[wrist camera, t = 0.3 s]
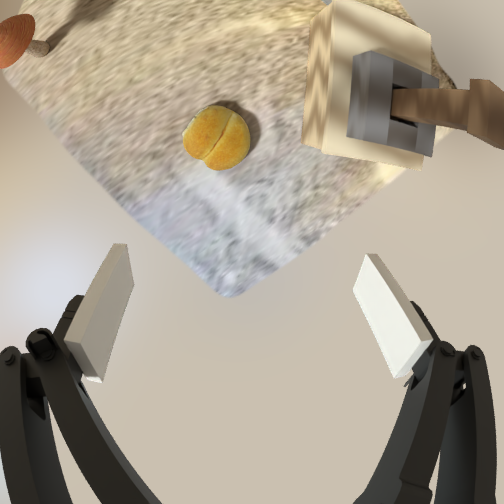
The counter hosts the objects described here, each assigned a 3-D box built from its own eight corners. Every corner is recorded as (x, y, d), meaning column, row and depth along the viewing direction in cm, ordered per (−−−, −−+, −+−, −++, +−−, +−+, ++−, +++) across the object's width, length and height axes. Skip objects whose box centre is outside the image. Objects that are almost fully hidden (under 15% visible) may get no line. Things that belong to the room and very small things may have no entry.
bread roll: (227, 178, 39) (228, 184, 35) (175, 144, 36) (171, 146, 32) (262, 132, 37) (267, 133, 33) (210, 95, 33) (209, 93, 30)
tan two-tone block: (308, 18, 29) (350, -18, 16) (391, 43, 31) (449, 30, 18) (298, 144, 38) (340, 159, 25) (382, 157, 40) (440, 178, 27)
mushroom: (75, 44, 25) (21, 23, 12) (40, 82, 26) (-21, 79, 13) (55, 19, 22) (4, -4, 8) (22, 55, 23) (-35, 47, 10)
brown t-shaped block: (372, 83, 25) (489, 80, 10) (401, 93, 26) (515, 101, 11) (369, 118, 27) (486, 137, 12) (398, 126, 28) (511, 152, 13)
